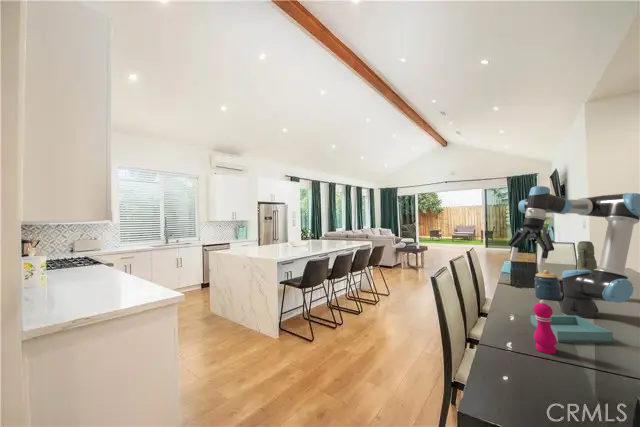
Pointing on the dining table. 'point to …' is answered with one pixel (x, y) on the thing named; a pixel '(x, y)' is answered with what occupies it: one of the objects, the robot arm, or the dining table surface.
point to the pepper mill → (544, 329)
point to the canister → (547, 286)
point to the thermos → (586, 257)
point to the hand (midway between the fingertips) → (526, 262)
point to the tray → (576, 330)
